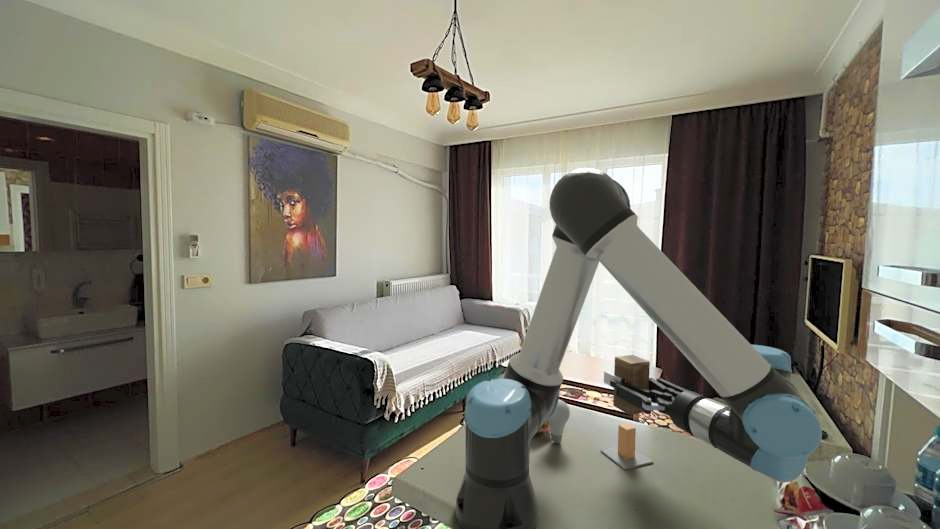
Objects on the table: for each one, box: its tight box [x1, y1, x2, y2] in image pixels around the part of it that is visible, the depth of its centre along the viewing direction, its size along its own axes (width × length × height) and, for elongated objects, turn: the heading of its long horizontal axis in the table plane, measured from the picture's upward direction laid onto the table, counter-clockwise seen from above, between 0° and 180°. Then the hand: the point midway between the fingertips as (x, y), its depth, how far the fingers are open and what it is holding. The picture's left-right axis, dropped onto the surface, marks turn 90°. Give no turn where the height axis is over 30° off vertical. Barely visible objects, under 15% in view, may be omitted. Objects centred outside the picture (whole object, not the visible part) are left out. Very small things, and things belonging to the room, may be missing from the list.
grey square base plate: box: [600, 422, 654, 471], centre depth 90 cm, size 8×8×7 cm
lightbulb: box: [547, 398, 571, 444], centre depth 96 cm, size 6×6×11 cm
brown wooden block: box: [612, 354, 651, 416], centre depth 88 cm, size 5×5×12 cm
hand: (615, 375), depth 93 cm, fingers closed on brown wooden block, 5 cm apart
